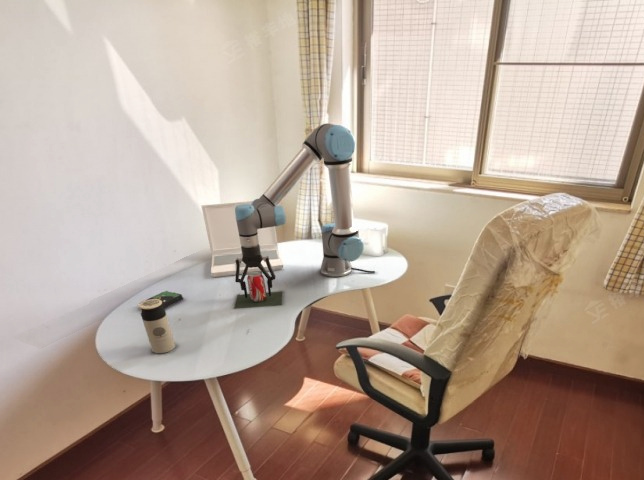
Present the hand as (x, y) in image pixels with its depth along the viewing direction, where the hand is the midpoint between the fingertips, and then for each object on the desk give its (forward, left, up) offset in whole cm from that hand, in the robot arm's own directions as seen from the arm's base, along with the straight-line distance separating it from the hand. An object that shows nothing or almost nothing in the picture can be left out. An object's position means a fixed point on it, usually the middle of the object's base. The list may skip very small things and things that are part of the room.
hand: (258, 295), depth 200 cm
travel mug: (+32, +37, -2) cm, 49 cm away
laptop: (+9, -45, -2) cm, 46 cm away
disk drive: (+42, -3, -2) cm, 42 cm away
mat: (0, 0, -2) cm, 2 cm away
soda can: (0, 0, -2) cm, 2 cm away
